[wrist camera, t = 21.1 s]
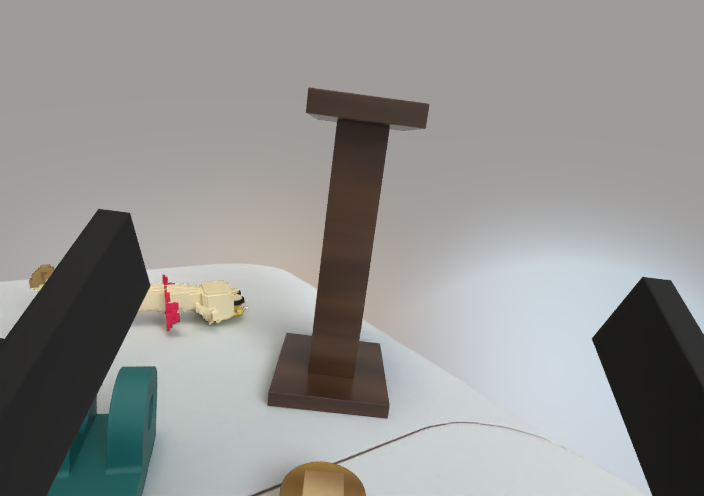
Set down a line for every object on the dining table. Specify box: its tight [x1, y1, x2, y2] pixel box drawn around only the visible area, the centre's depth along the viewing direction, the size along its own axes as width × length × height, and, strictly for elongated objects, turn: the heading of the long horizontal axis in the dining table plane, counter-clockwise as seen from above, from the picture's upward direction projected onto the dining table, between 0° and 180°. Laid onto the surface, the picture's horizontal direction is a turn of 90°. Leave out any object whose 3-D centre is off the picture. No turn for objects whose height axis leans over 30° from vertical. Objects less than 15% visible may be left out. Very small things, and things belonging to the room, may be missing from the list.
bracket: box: [47, 366, 157, 496], centre depth 29 cm, size 18×7×8 cm, turn 15°
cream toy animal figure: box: [29, 264, 248, 331], centre depth 59 cm, size 10×9×25 cm
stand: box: [267, 88, 429, 418], centre depth 49 cm, size 16×12×30 cm
